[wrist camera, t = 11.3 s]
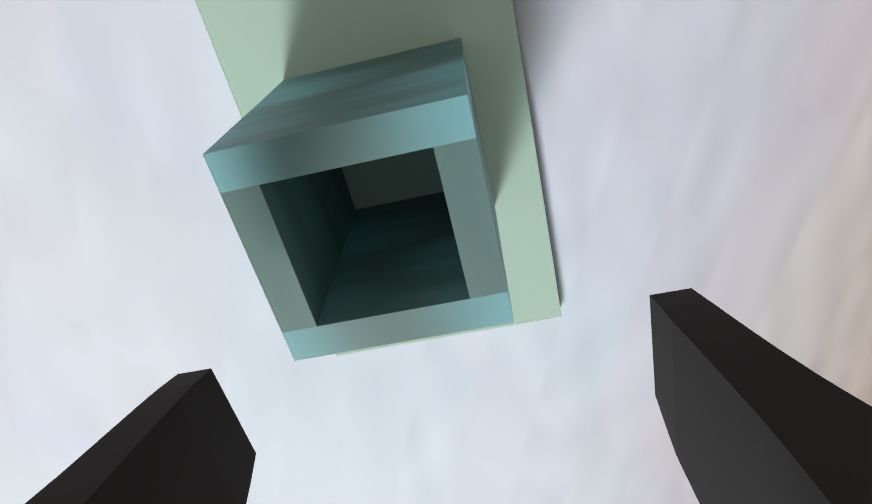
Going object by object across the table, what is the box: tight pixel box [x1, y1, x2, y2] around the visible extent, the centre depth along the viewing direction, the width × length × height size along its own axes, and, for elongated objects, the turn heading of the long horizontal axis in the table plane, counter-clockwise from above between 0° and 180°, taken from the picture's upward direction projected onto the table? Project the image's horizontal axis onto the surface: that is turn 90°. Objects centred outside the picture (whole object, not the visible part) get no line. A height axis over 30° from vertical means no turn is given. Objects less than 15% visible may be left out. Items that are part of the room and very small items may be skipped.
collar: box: [203, 38, 514, 361], centre depth 14 cm, size 5×5×6 cm
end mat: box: [195, 0, 562, 355], centre depth 17 cm, size 8×14×1 cm, turn 13°
